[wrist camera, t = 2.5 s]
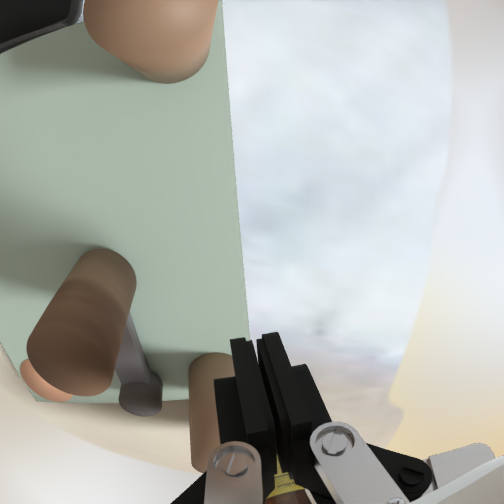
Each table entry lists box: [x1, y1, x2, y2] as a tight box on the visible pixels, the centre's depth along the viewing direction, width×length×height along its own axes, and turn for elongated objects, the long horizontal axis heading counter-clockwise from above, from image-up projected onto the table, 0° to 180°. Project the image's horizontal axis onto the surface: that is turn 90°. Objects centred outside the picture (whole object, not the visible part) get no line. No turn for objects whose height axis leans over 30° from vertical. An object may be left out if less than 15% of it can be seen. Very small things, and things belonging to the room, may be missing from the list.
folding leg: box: [26, 248, 163, 416], centre depth 14 cm, size 11×4×7 cm, turn 4°
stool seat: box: [0, 0, 250, 473], centre depth 13 cm, size 24×18×9 cm
